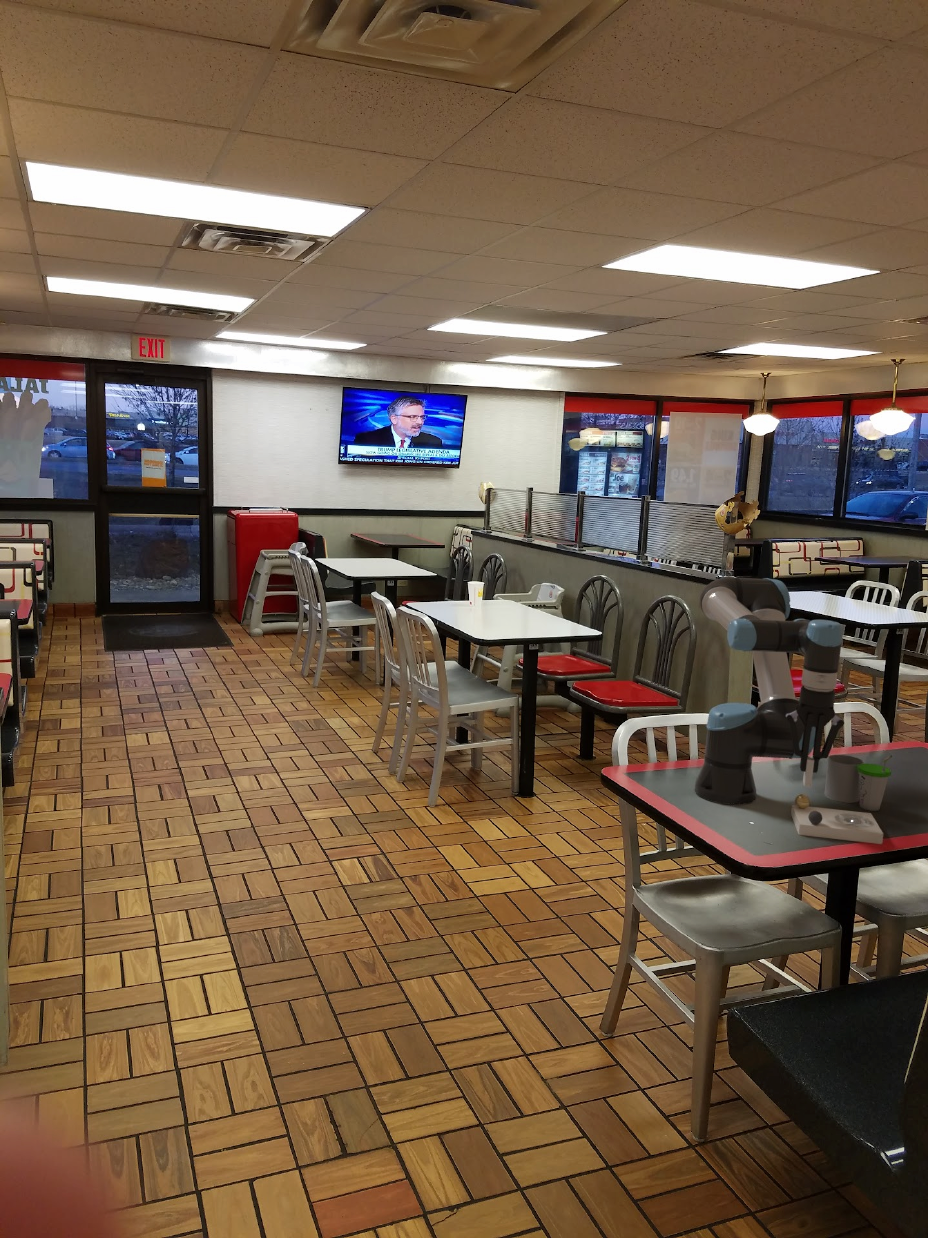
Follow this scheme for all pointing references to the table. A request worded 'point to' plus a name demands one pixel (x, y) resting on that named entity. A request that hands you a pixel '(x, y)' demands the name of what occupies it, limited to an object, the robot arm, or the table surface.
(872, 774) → the cup
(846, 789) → the cup
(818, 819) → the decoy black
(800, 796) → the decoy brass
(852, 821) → the steel ball
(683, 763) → the table surface
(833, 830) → the plate
